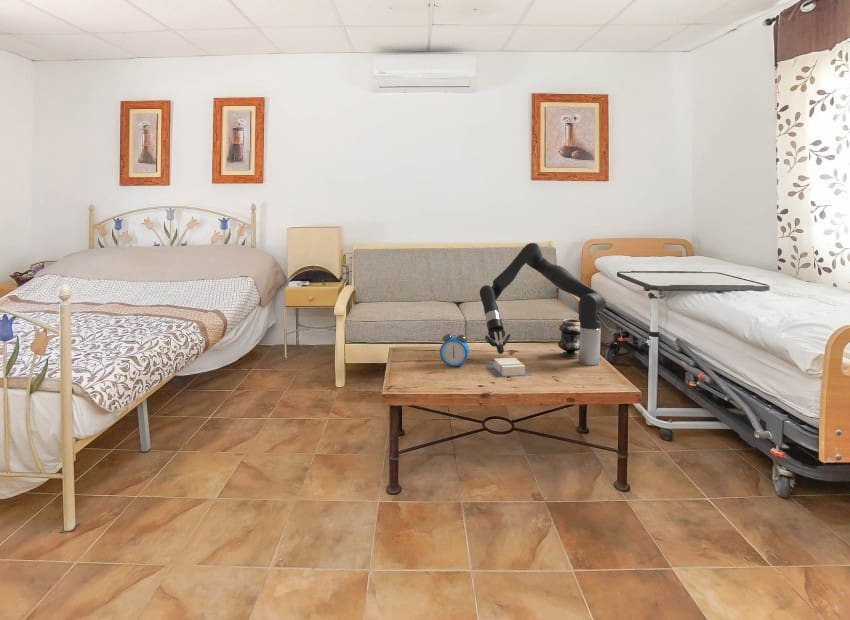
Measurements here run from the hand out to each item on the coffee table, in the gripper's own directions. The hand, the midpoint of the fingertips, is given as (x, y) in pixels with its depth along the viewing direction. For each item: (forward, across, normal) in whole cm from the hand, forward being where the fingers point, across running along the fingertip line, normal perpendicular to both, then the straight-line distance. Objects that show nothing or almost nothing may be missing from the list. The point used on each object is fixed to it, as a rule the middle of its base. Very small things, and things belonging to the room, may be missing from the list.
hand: (501, 353), depth 247 cm
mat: (+10, 0, +2) cm, 10 cm away
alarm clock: (+2, +22, -6) cm, 23 cm away
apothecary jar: (-2, -38, -11) cm, 40 cm away
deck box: (+6, 0, +1) cm, 6 cm away
